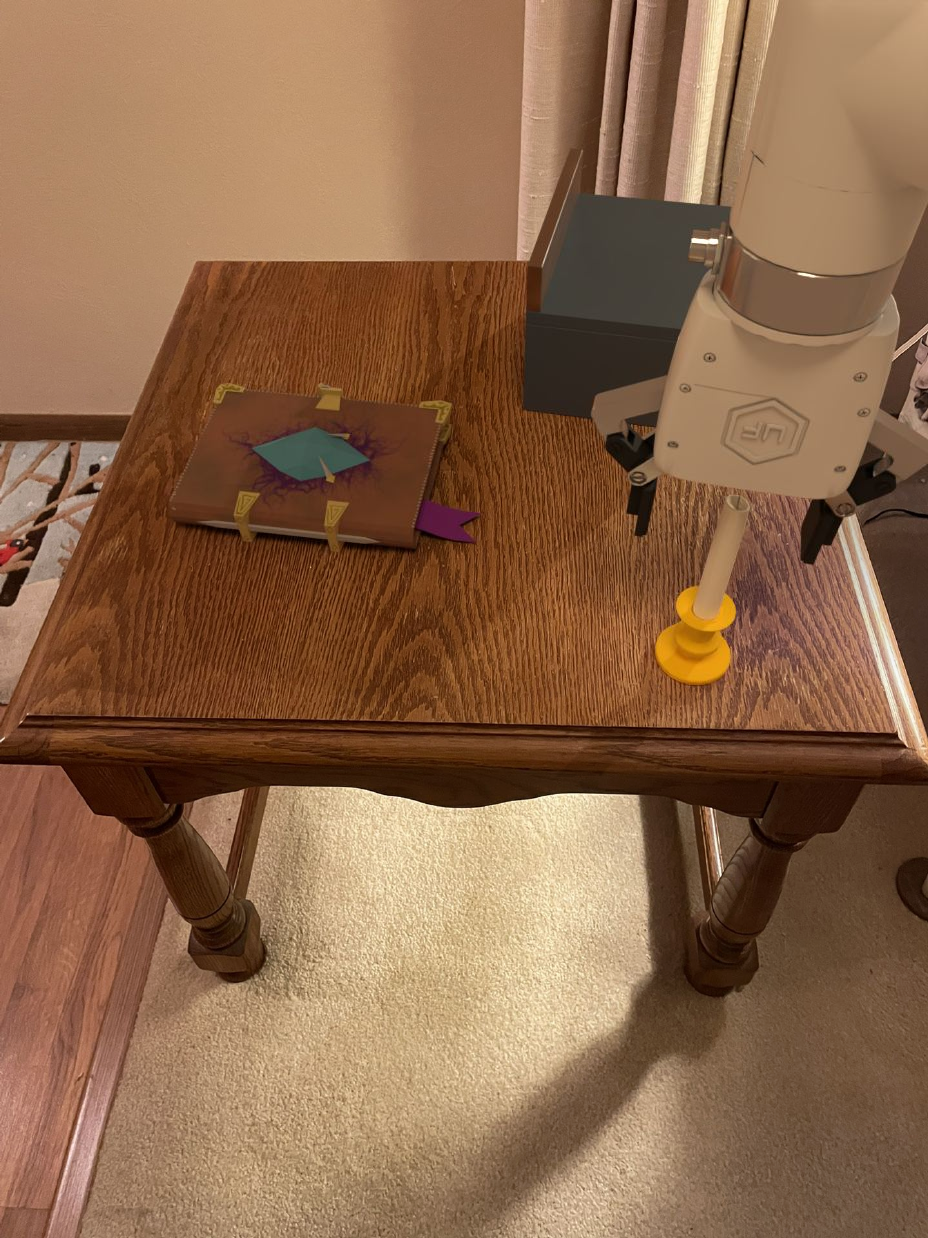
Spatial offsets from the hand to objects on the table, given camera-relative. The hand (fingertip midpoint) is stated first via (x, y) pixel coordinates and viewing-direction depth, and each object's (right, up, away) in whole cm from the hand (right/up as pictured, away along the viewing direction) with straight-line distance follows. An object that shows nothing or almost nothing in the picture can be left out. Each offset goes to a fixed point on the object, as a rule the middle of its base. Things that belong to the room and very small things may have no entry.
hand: (723, 533), depth 53 cm
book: (-26, +7, +22) cm, 34 cm away
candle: (+1, -8, +10) cm, 13 cm away
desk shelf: (0, +20, +31) cm, 37 cm away
